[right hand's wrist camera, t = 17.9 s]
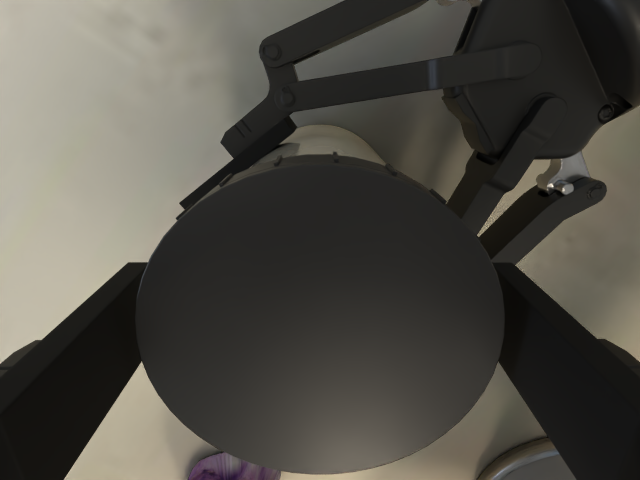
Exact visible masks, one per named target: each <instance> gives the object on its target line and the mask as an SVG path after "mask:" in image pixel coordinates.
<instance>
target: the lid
mask: <svg viewBox="0 0 640 480" xmlns="http://www.w3.org/2000/svg"><path fill="white" fill-rule="evenodd" d="M446 202H447V201H446V200H445V199H443V198H442V197H441V196H440V195H439V194H438V193H437V192H435V191H434V190H433V189H431V190H430V191H429V190H428V189H426V188H425V187H424V186H423V185H421V184H420V183H418V182H416V181H415V180H413V179H411V178H410V177H408V176H406V175H404V174H403V173H401V172H399V171H396V170H395V169H394V168H393V167H392V166H391V165H390V164H388V163H386V165H385V166H384V165H382V164H379V163H376V162H372V161H368V160H364V159H360V158H356V157H350V156H342V155H338V154H337V152H335V151H333V154H305V155H298V156H291V157H284V158H283V157H282V155H279V156H278V157H277V158H276V160H272V161H269V162H265V163H262V164H258V165H256V166H253V167H251V168H249V169H247V170H244V171H242V172H240V173H237V174H235V175H234V176H233V175H232V173H231V174H229V175H228V176H227V177H226V178H225V179H224V180H222V181H221V182H220V183H219V185H218V186H216V187H215V188H213V189H212V190H211V191H210V192H209V193H208V194H206V195H205V196H204V197H203V198H202V199H200V200H199V201H198V202H197V203H196V204H195V205H193V204H191V205H190V206H189V207H188V208H186V209H185V210H184V211H183V212H182V213H181V214H180V215H178V216H177V218H176V219H177V220H178V221H177V222H176V223H175V224H174V225H173V226H172V227H171V229H170V230H169V231H168V232H167V233H166V234H165V235H164V237H163V238H162V240H161V241H160V243H159V244H158V246H157V248H156V249H155V251H154V252H153V254H152V255H151V257H150V259H149V262H148V264H147V267H146V269H145V271H144V274H143V276H142V279H141V283H140V287H139V291H138V295H137V302H136V314H135V325H136V339H137V343H138V348H139V352H140V356H141V360H142V363H143V365H144V368H145V370H146V373H147V375H148V378H149V379H150V381H151V383H152V385H153V386H154V388H155V390H156V392H157V393H158V395H159V396H160V398H161V399H162V400H163V402H164V403H165V404H166V406H167V407H168V408H169V410H170V411H171V412H172V413H173V414H174V415H175V416H176V417H177V418H178V419H179V420H180V421H181V422H182V423H183V424H184V425H185V426H186V427H188V428H189V429H190V430H191V431H193V432H194V433H195V434H196V435H197V436H199V437H200V438H202V439H203V440H205V441H206V442H208V443H209V444H211V445H213V446H214V447H216V448H218V449H220V450H222V451H224V452H226V453H227V454H229V455H231V456H233V457H236V458H239V459H241V460H244V461H246V462H249V463H252V464H255V465H259V466H262V467H266V468H269V469H274V470H279V471H285V472H291V473H301V474H339V473H349V472H356V471H361V470H366V469H371V468H375V467H378V466H381V465H385V464H388V463H392V462H394V461H396V460H399V459H401V458H404V457H406V456H409V455H411V454H413V453H415V452H417V451H419V450H420V449H422V448H424V447H426V446H428V445H429V444H431V443H432V442H434V441H435V440H437V439H438V438H440V437H441V436H443V435H444V434H445V433H447V432H448V431H449V430H450V429H451V428H452V427H454V426H455V425H456V424H457V423H458V422H459V421H460V420H461V419H462V418H463V417H464V416H465V415H466V414H467V413H468V412H469V411H470V410H471V409H472V407H473V406H474V405H475V403H476V402H477V401H478V399H479V398H480V396H481V395H482V394H483V392H484V391H485V389H486V387H487V385H488V383H489V381H490V379H491V377H492V376H493V374H494V371H495V368H496V365H497V363H498V360H499V357H500V353H501V349H502V344H503V339H504V327H505V310H504V302H503V293H502V290H501V286H500V283H499V279H498V276H497V273H496V270H495V268H494V266H493V264H492V262H491V260H490V258H489V255H488V253H487V252H486V250H485V249H484V247H483V246H482V244H481V243H480V241H481V240H480V238H479V237H478V236H477V235H476V234H474V233H473V231H472V230H471V229H470V228H469V227H468V226H467V225H466V224H465V223H464V222H463V221H462V220H461V219H460V218H459V216H458V215H457V214H456V213H454V212H453V211H452V210H451V209H450V208H449V207H448V206H447V205H446V204H445V203H446Z"/></svg>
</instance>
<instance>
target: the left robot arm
mask: <svg viewBox="0 0 640 480" xmlns="http://www.w3.org/2000/svg"><path fill="white" fill-rule="evenodd" d="M427 1H428V0H345V1H343V2H340V3H338V4H336V5H334V6H332V7H330V8H328V9H326V10H324V11H321V12H319V13H317V14H315V15H313V16H311V17H309V18H307V19H305V20H302V21H300V22H298V23H296V24H294V25H292V26H290V27H288V28H286V29H283V30H281V31H279V32H277V33H275V34H273V35H271V36H269V37H267V38H266V39H264V40H263V41H262V43H261V45H260V48H259V54H260V58H261V60H262V61H263V64H264V67H265V70H266V73H267V76H268V79H269V83H270V89H269V93H268V95H267V97H266V98H265V99H264V101H262V102H261V103H260V104H259V105H258V106H256V107H255V108H254V109H253V110H252V111H250V112H249V113H248V114H247V115H246V116H244V117H243V118H242V119H241V120H240V121H238V122H237V123H236V124H235V125H234V126H232V127H231V128H230V129H229V130H228V131H226V132H225V134H224V136H223V138H222V140H221V142H220V143H221V144H222V145H223V146H224V147H225V149H226V150H227V151H228V152H229V153H230V155H231V156H232V157H233V158H234V159H233V160H232V161H231V162H229V163H228V164H227V165H226V166H224V167H223V168H222V169H221V170H219V171H218V172H217V173H216V174H215V175H213V176H212V177H211V178H210V179H208V180H207V181H206V182H205V183H203V184H202V185H201V186H200V187H198V188H197V189H196V190H195V191H194V192H192V193H191V194H190V195H189V196H187V197H186V198H185V199H184V200H182V201H181V202H180V203H179V204H180V205H181V206H182V207H183V208H184V209H186V208H188V207H189V206H190V205H191V204H193V205H195V204H196V203H197V202H198V201H199V200H200V199H202V198H203V197H204V196H205V195H206V194H208V193H209V192H210V191H211V190H212V189H213V188H215V187H216V186H218V185H219V183H220V182H221V181H222V180H224V179H225V178H226V177H227V176H228V175H229V174H231V173H232V175H233V176H234V175H235V174H237V173H240V172H242V171H244V170H247V169H249V168H250V167H251V166H252V165H254V164H255V163H256V162H257V161H259V160H260V159H261V158H262V157H264V156H265V155H266V154H268V153H269V152H270V151H271V150H273V149H274V148H275V147H276V146H278V145H279V144H280V143H281V142H283V141H284V140H285V139H286V138H288V137H289V136H290V135H292V134H293V133H294V132H295V130H296V128H297V126H296V125H295V123H294V122H293V121H292V119H291V118H290V117H289V115H290V114H292V113H293V112H296V111H303V110H309V109H315V108H321V107H328V106H334V105H340V104H346V103H353V102H359V101H365V100H371V99H377V98H384V97H390V96H396V95H402V94H409V93H415V92H421V91H427V90H435V89H443V91H444V96H443V97H441V98H442V99H443V101H444V103H445V104H446V106H447V108H448V110H449V111H450V112H451V113H452V114H453V115H455V116H456V117H457V118H458V119H459V120H460V122H461V125H462V129H463V133H464V137H465V138H466V140H467V142H468V143H469V145H470V147H471V148H472V149H475V151H474V152H473V154H472V156H471V157H470V159H469V161H468V163H467V165H466V172H465V174H464V176H463V178H462V180H461V181H460V183H459V184H458V186H457V188H456V189H455V191H454V193H453V194H452V196H451V198H450V199H449V201H448V203H447V204H446V205H447V206H448V207H449V208H450V209H451V210H452V211H453V212H454V213H456V214H457V215H458V216H459V218H460V219H461V220H462V221H463V222H464V223H465V224H466V225H467V226H468V227H469V228H470V229H471V230H472V231H473V233H474V234H476V235H477V234H478V233H479V231H480V230H481V228H482V227H483V225H484V224H485V222H486V221H487V219H488V218H489V216H490V215H491V213H492V211H493V210H494V208H495V207H496V205H497V204H498V202H499V201H500V199H501V198H502V196H503V195H504V194H505V193H506V192H509V191H511V190H512V189H513V188H515V186H516V185H517V184H518V182H519V181H520V179H521V178H522V176H523V175H524V173H525V172H526V170H527V169H528V167H529V166H530V164H531V163H532V161H533V160H535V159H551V163H550V166H549V168H548V169H547V171H545V172H544V173H543V174H540V175H538V176H537V178H536V182H537V185H536V186H534V187H533V188H531V189H530V190H528V191H527V192H526V193H524V194H523V195H522V196H521V197H520V198H518V199H517V200H516V201H515V202H514V203H513V204H512V205H511V206H510V207H509V208H508V209H507V210H506V211H505V212H504V213H503V214H502V215H501V216H500V217H499V218H498V219H497V220H496V221H495V222H494V223H493V224H492V225H491V226H490V227H489V228H488V229H487V230H486V231H485V232H484V233H483V234H482V235H481V236H480V237H479V238H480V240H481V241H480V243H481V244H482V246H483V247H484V249H485V250H486V252H487V253H488V255H489V258H490V260H491V262H512V263H513V264H514V265H516V264H517V263H518V262H519V261H520V260H521V259H522V258H523V257H524V256H525V255H526V254H528V253H529V252H530V251H531V250H532V249H533V248H534V247H535V246H536V245H537V244H538V243H540V242H541V241H542V240H543V239H544V238H545V237H546V236H547V235H548V234H549V233H550V232H552V231H553V230H554V229H555V228H556V227H557V226H558V225H559V224H560V223H561V222H562V221H564V220H565V219H567V218H569V217H571V216H573V215H575V214H577V213H579V212H581V211H583V210H585V209H587V208H589V207H591V206H593V205H595V204H597V203H598V202H600V201H601V200H602V199H603V198H604V196H605V195H606V192H607V188H606V185H605V184H604V183H603V182H601V181H599V180H596V179H593V178H591V177H590V175H589V172H588V170H587V167H586V164H585V161H584V158H583V155H582V153H581V150H582V149H583V148H584V147H585V146H586V145H587V143H588V142H589V140H590V139H591V137H592V136H593V135H594V133H595V132H596V131H597V130H598V129H599V128H600V127H601V126H603V125H604V124H606V123H607V122H609V121H611V120H613V119H615V118H617V117H619V116H621V115H623V114H625V113H627V112H629V111H631V110H633V109H634V108H636V107H638V106H639V105H640V0H463V1H467V2H469V3H470V4H471V5H472V6H473V7H472V9H471V11H470V14H469V16H468V19H467V21H466V24H465V26H464V29H463V31H462V34H461V36H460V39H459V41H458V44H457V46H456V49H455V51H454V54H453V56H448V57H442V58H436V59H431V60H426V61H420V62H414V63H408V64H402V65H396V66H390V67H384V68H378V69H372V70H366V71H359V72H353V73H347V74H341V75H335V76H329V77H323V78H317V79H311V80H305V81H299V80H298V77H297V74H296V70H295V67H294V65H295V64H297V63H299V62H302V61H304V60H306V59H308V58H310V57H313V56H315V55H317V54H319V53H321V52H323V51H326V50H328V49H330V48H332V47H334V46H337V45H339V44H341V43H343V42H345V41H348V40H350V39H352V38H354V37H356V36H358V35H361V34H363V33H365V32H367V31H369V30H372V29H374V28H376V27H378V26H380V25H383V24H385V23H387V22H389V21H391V20H393V19H396V18H398V17H400V16H402V15H404V14H407V13H409V12H411V11H413V10H414V9H416V8H418V7H420V6H421V5H423V4H424V3H426V2H427ZM436 1H437V3H438V4H440V5H442V6H449V5H451V4H453V3H455V2H457V1H460V0H436ZM478 480H576V478H575V477H574V475H573V474H572V472H571V471H570V469H569V468H568V466H567V465H566V463H565V462H564V460H563V459H562V457H561V455H560V454H559V452H558V451H557V449H556V448H555V446H554V445H553V443H552V442H551V440H550V439H549V438H544V439H540V440H536V441H532V442H529V443H526V444H523V445H521V446H519V447H516V448H514V449H512V450H510V451H508V452H507V453H505V454H503V455H502V456H500V457H499V458H498V459H496V460H495V461H494V462H493V463H491V464H490V465H489V466H488V467H487V468H486V469H485V470H484V472H483V473H482V474H481V476H480V477H479V479H478Z"/></svg>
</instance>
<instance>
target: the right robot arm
mask: <svg viewBox="0 0 640 480" xmlns="http://www.w3.org/2000/svg"><path fill="white" fill-rule="evenodd" d="M147 264H148V262H128V263H127V264H126V265H125V266H124V267H123V268H122V269H120V270H119V271H118V272H117V273H116V274H115V275H114V276H113V277H112V278H110V279H109V280H108V281H107V282H106V283H105V284H104V285H103V286H102V287H100V288H99V289H98V290H97V291H96V292H95V293H94V294H93V295H91V296H90V297H89V298H88V299H87V300H86V301H85V302H84V303H83V304H81V305H80V306H79V307H78V308H77V309H76V310H75V311H74V312H72V313H71V314H70V315H69V316H68V317H67V318H66V319H65V320H64V321H62V322H61V323H60V324H59V325H58V326H57V327H56V328H55V329H53V330H52V331H51V332H50V333H49V334H48V335H47V336H46V337H45V338H43V339H42V340H35V341H33V342H32V343H30V344H28V345H26V346H25V347H23V348H21V349H19V350H17V351H16V352H14V353H13V354H11V355H10V356H9V357H8V358H7V359H6V360H4V361H3V362H2V363H1V364H0V480H64V478H65V477H66V475H67V474H68V472H69V471H70V469H71V468H72V466H73V465H74V463H75V462H76V460H77V459H78V457H79V455H80V454H81V452H82V451H83V449H84V448H85V446H86V445H87V443H88V442H89V440H90V439H91V437H92V436H93V434H94V433H95V431H96V430H97V428H98V427H99V425H100V424H101V422H102V421H103V419H104V418H105V416H106V415H107V413H108V412H109V410H110V408H111V407H112V405H113V404H114V402H115V401H116V399H117V398H118V396H119V395H120V393H121V392H122V390H123V389H124V387H125V386H126V384H127V383H128V381H129V380H130V378H131V377H132V375H133V374H134V372H135V371H136V369H137V368H138V366H139V365H140V363H141V361H142V360H141V356H140V352H139V348H138V343H137V339H136V325H135V314H136V302H137V295H138V291H139V287H140V283H141V279H142V276H143V274H144V271H145V269H146V267H147ZM492 264H493V266H494V268H495V270H496V273H497V276H498V279H499V283H500V286H501V290H502V293H503V302H504V310H505V327H504V339H503V344H502V349H501V353H500V357H499V360H498V361H499V363H500V365H501V366H502V368H503V369H504V371H505V372H506V374H507V375H508V377H509V378H510V380H511V381H512V383H513V384H514V386H515V387H516V389H517V390H518V392H519V393H520V395H521V396H522V398H523V399H524V401H525V402H526V404H527V405H528V407H529V408H530V410H531V412H532V413H533V415H534V416H535V418H536V419H537V421H538V422H539V424H540V425H541V427H542V428H543V430H544V431H545V433H546V434H547V436H548V437H549V439H550V440H551V442H552V443H553V445H554V446H555V448H556V449H557V451H558V452H559V454H560V455H561V457H562V459H563V460H564V462H565V463H566V465H567V466H568V468H569V469H570V471H571V472H572V474H573V475H574V477H575V478H576V480H640V362H639V361H638V360H637V359H635V358H634V357H633V356H632V355H631V354H629V353H628V352H627V351H625V350H624V349H622V348H620V347H618V346H616V345H615V344H613V343H611V342H609V341H607V340H606V339H597V338H595V337H594V336H593V335H592V334H591V333H590V332H589V331H588V330H587V329H585V328H584V327H583V326H582V325H581V324H580V323H579V322H578V321H576V320H575V319H574V318H573V317H572V316H571V315H570V314H569V313H568V312H566V311H565V310H564V309H563V308H562V307H561V306H560V305H559V304H557V303H556V302H555V301H554V300H553V299H552V298H551V297H550V296H549V295H547V294H546V293H545V292H544V291H543V290H542V289H541V288H540V287H538V286H537V285H536V284H535V283H534V282H533V281H532V280H531V279H530V278H528V277H527V276H526V275H525V274H524V273H523V272H522V271H521V270H520V269H518V268H517V267H516V266H515V265H514V264H513V263H512V262H492Z"/></svg>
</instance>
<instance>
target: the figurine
mask: <svg viewBox="0 0 640 480" xmlns="http://www.w3.org/2000/svg"><path fill="white" fill-rule="evenodd" d="M280 477H281V471H279V470H274V469H269V468H266V467H262V466H259V465H255V464H252V463H249V462H246V461H244V460H241V459H239V458H236V457H233V456H231V455H229V454H227V453H226V452H223V453H219V454H216V455H212V456H210V457H207V458H205V459H202V460H200V461H199V462H198V463H197V464H196V465H195V467H194V468H193V470H192V472H191V474H190V476H189V478H188V480H280Z"/></svg>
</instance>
